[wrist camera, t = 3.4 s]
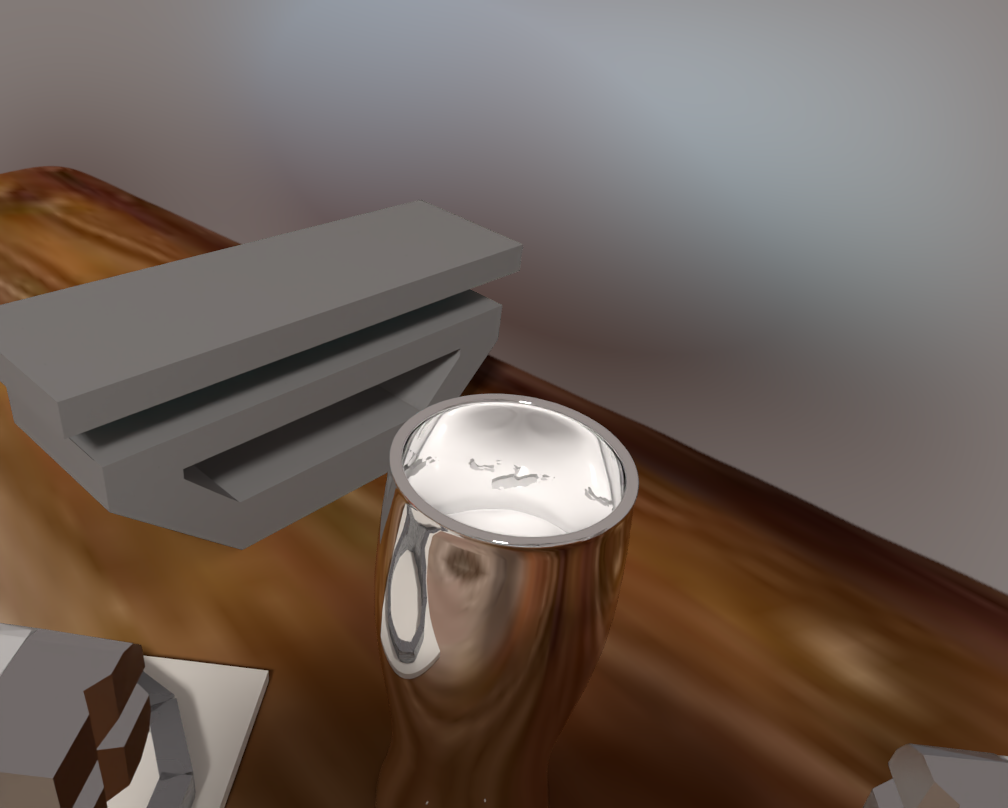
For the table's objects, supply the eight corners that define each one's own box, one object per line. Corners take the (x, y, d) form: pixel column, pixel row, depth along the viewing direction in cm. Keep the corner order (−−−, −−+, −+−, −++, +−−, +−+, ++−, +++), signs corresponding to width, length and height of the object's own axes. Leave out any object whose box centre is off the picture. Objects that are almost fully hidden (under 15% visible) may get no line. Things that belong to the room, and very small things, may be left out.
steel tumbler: (350, 731, 32) (362, 394, 24) (526, 703, 34) (591, 383, 26) (379, 922, 27) (407, 566, 18) (587, 874, 29) (693, 535, 21)
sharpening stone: (409, 360, 56) (420, 199, 50) (499, 412, 52) (523, 244, 46) (11, 529, 39) (-43, 315, 33) (100, 626, 35) (57, 402, 29)
